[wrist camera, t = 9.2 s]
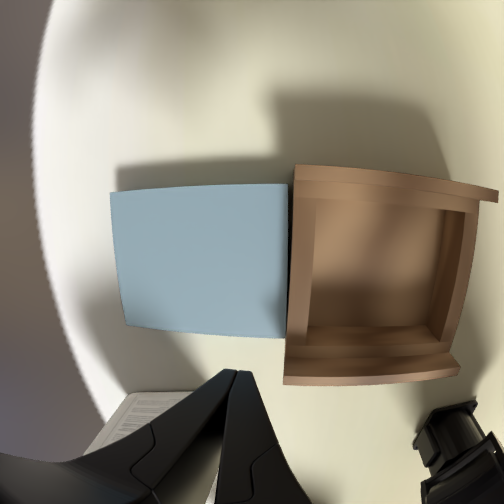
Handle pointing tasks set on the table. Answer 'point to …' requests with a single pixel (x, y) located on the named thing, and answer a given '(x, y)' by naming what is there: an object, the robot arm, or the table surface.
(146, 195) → the cover plate
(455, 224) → the slide box
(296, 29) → the table surface
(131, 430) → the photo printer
